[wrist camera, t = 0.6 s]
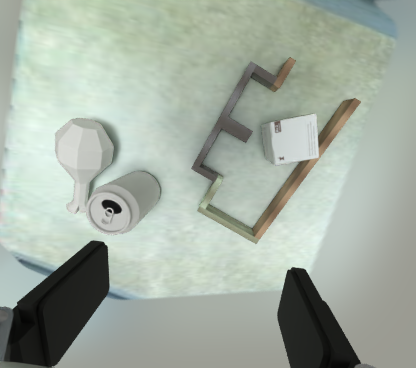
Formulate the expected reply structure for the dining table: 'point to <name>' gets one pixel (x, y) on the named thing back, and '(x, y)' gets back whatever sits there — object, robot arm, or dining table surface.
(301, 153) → the skincare box
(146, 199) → the can
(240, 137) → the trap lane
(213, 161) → the dining table surface
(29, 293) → the robot arm
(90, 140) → the chicken leg
